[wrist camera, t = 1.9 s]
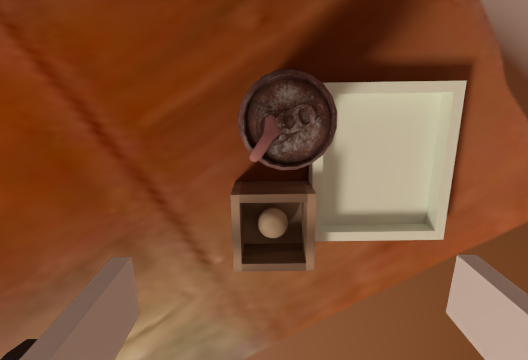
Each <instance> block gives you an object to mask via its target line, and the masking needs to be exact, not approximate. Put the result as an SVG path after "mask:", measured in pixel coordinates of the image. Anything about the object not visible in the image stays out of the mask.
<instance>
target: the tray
mask: <svg viewBox="0 0 528 360" xmlns="http://www.w3.org/2000/svg"><path fill="white" fill-rule="evenodd" d="M466 82H467V81H406V82H338V83H323V84H324V85H325V86H326V88H327V89H328V91H329V92H330V93H331V95H332V96H333V100H334V103H335V106H336V109H337V129H336V132H335V135H334V138H333V141H332V143H331V144H330V146H329V147H328V149H327V150H326V151H325V153H324V154H323V155H322V156H321V157H320V158H318V159H317V160H316V161H314V162H313V163H312V164H310V165H309V182H310V184H311V185H312V187H313V189H314V191H315V192H316V220H315V241H373V240H443V237H444V231H445V224H446V217H447V210H448V204H449V197H450V190H451V183H452V177H453V170H454V163H455V156H456V150H457V143H458V136H459V129H460V123H461V116H462V109H463V102H464V96H465V89H466Z"/></svg>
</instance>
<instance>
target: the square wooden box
mask: <svg viewBox="0 0 528 360" xmlns="http://www.w3.org/2000/svg"><path fill="white" fill-rule="evenodd" d="M268 208H278V209H280V210H282V211H283V212H284V213H285V214H286V216H287V219H288V227H287V230H286V231H285V233H284V234H283V235H281V236H280V237H277V238H269V237H266V236H264V235H263V234H262V233H261V232H260V230H259V228H258V218H259V216H260V214H261V213H262V212H263V211H264V210H265V209H268ZM231 218H232V241H233V264H234V271H310V270H314V252H315V220H316V192H315V191H314V189H313V187H312V185H311V184H310V182H309V180H295V181H235V184H234V187H233V189H232V192H231Z"/></svg>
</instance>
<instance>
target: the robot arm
mask: <svg viewBox="0 0 528 360" xmlns="http://www.w3.org/2000/svg"><path fill="white" fill-rule="evenodd" d="M446 313H447V314H448V315H449V317H450V318H451V319H452V320H453V321H454V323H455V324H456V325H457V326H458V327H459V329H460V330H461V331H462V332H463V333H464V335H465V336H466V337H467V338H468V340H469V341H470V342H471V343H472V344H473V346H474V347H475V348H476V349H477V350H478V352H479V353H480V354H481V355H482V356H483V358H484V359H485V360H528V294H526V293H525V292H524V291H522V290H521V289H519V287H517V286H516V285H515V284H513V283H512V282H511V281H509V280H508V279H507V278H506V277H504V276H503V275H502V274H500V273H499V272H498V271H496V270H495V269H494V268H492V267H491V266H490V265H488V264H487V263H486V262H485V261H483V260H482V259H481V258H479V257H478V256H477V255H457V259H456V264H455V269H454V274H453V279H452V284H451V289H450V294H449V299H448V304H447V309H446ZM139 315H140V312H139V306H138V299H137V292H136V285H135V279H134V272H133V265H132V259H131V257H112V258H111V259H110V261H109V262H108V263H107V264H106V265H105V266H104V267H103V268H102V269H101V270H100V271H99V273H98V274H97V275H96V276H95V277H94V278H93V279H92V280H91V281H90V282H89V284H88V285H87V286H86V287H85V288H84V289H83V290H82V291H81V292H80V293H79V295H78V296H77V297H76V298H75V299H74V300H73V301H72V302H71V303H70V304H69V306H68V307H67V308H66V309H65V310H64V311H63V312H62V313H61V314H60V315H59V317H58V318H57V319H56V320H55V321H54V322H53V323H52V324H51V325H50V326H49V328H48V329H47V330H46V331H45V332H44V333H43V334H42V335H41V336H40V337H39V339H27V340H25V341H24V342H22V343H21V344H20V345H18V346H17V347H15V348H14V349H12V350H11V351H9V352H8V353H7V354H6V355H5V356H4V357H3V358H2V359H1V360H115V358H116V356H117V355H118V353H119V351H120V349H121V347H122V345H123V344H124V342H125V340H126V338H127V336H128V335H129V333H130V331H131V329H132V327H133V326H134V324H135V322H136V320H137V318H138V317H139Z"/></svg>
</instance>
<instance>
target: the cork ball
mask: <svg viewBox="0 0 528 360" xmlns="http://www.w3.org/2000/svg"><path fill="white" fill-rule="evenodd" d="M287 227H288V219H287V216H286V214H285V213H284V212H283V211H282V210H280V209H278V208H268V209H265V210H264V211H263V212H262V213H261V214H260V216H259V218H258V228H259V230H260V232H261V233H262V234H263V235H264V236H266V237H269V238H277V237H280V236H281V235H283V234H284V233H285V231H286V230H287Z"/></svg>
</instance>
